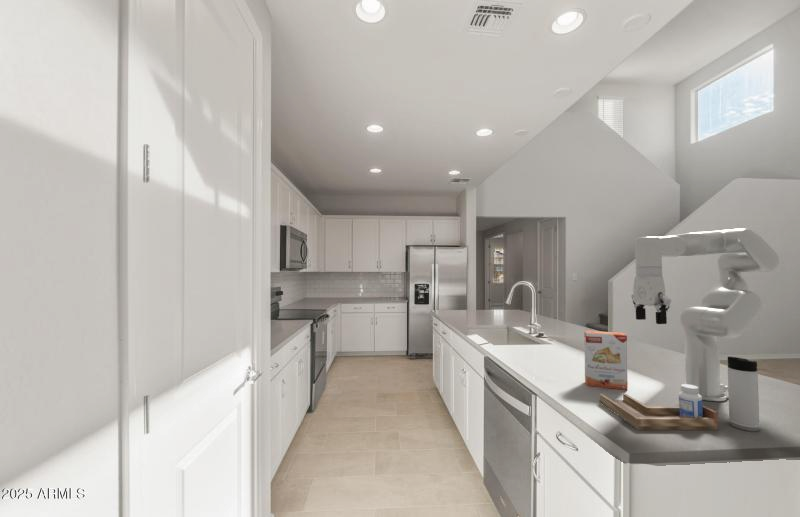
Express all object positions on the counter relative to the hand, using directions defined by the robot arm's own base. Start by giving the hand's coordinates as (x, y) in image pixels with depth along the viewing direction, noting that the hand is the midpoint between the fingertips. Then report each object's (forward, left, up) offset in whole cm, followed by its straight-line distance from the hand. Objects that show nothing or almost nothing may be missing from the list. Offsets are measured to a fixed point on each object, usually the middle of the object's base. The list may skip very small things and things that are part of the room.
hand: (650, 321), depth 122 cm
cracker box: (+7, -16, -28) cm, 33 cm away
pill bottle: (0, +17, -27) cm, 31 cm away
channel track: (+8, +11, -27) cm, 31 cm away
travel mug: (-13, +19, -28) cm, 36 cm away
